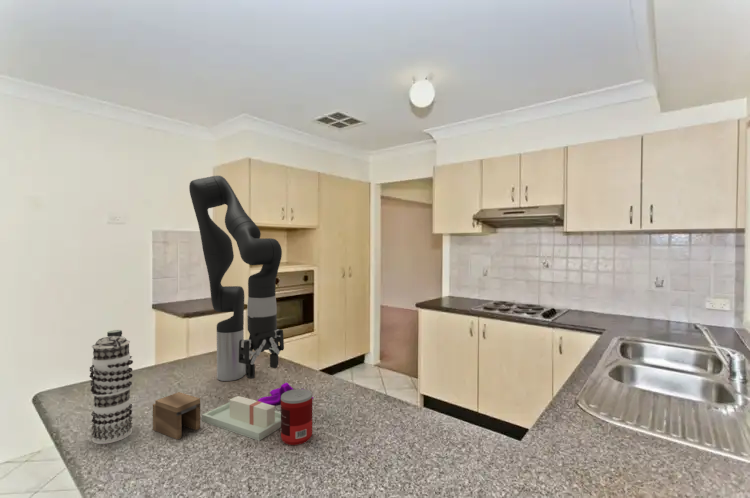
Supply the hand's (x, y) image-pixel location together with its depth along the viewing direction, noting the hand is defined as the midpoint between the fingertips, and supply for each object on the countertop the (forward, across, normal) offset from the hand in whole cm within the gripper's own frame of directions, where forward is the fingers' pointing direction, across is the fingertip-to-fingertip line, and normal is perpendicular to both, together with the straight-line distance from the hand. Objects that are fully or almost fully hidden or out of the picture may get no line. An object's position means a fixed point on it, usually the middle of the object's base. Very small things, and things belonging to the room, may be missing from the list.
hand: (262, 372), depth 103 cm
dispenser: (+14, +13, -18) cm, 26 cm away
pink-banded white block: (+14, +1, -3) cm, 14 cm away
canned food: (+14, +1, +12) cm, 19 cm away
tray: (+14, +1, -6) cm, 15 cm away
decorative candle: (+14, +22, -30) cm, 40 cm away
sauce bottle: (+15, +5, -61) cm, 63 cm away
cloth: (+15, -16, -5) cm, 23 cm away
